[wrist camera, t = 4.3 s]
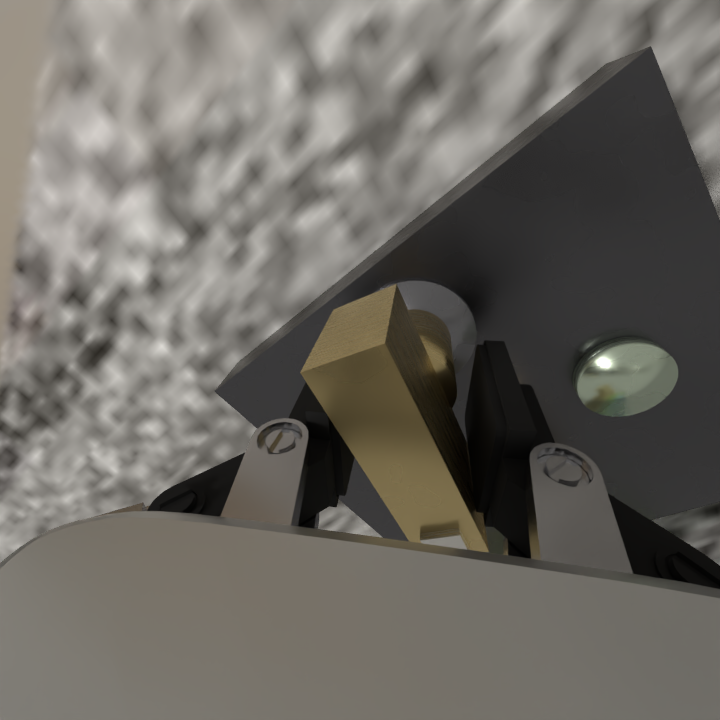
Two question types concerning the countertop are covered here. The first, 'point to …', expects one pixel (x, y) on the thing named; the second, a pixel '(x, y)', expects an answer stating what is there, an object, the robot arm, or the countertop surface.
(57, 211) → the countertop surface
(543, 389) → the base
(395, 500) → the knob
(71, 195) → the countertop surface
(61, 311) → the countertop surface
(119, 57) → the countertop surface
